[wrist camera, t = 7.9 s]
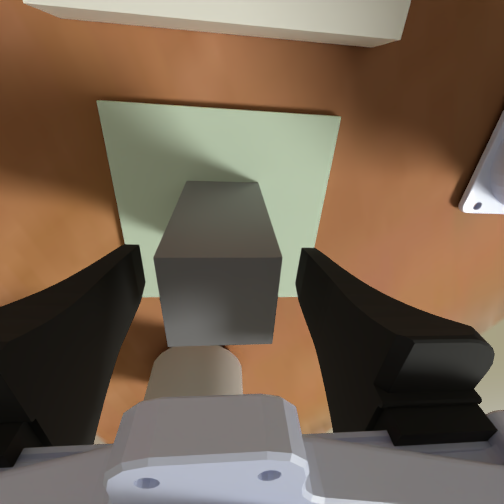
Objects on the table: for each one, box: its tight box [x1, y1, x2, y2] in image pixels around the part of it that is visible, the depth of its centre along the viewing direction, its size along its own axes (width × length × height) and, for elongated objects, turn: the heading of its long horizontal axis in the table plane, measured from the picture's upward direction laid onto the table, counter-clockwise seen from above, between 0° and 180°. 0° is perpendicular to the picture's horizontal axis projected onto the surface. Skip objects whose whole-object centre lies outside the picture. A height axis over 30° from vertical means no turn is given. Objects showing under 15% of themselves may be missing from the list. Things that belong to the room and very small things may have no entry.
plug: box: [153, 181, 283, 347], centre depth 13 cm, size 4×4×8 cm
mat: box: [96, 100, 341, 297], centre depth 17 cm, size 12×12×1 cm
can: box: [144, 345, 243, 401], centre depth 19 cm, size 8×8×12 cm
